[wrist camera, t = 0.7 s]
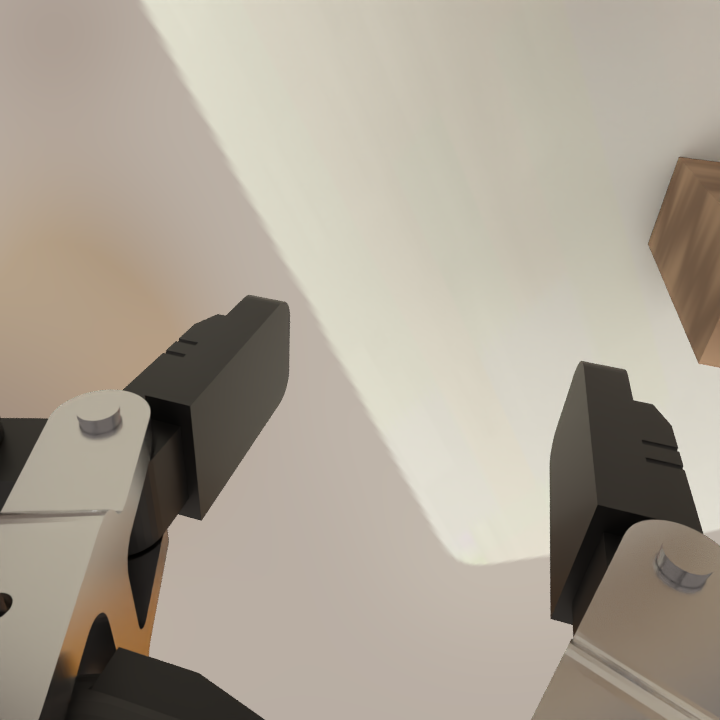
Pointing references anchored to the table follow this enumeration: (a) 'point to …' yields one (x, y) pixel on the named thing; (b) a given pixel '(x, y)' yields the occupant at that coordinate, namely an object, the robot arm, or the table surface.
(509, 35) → the table surface
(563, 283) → the table surface
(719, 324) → the walnut block
